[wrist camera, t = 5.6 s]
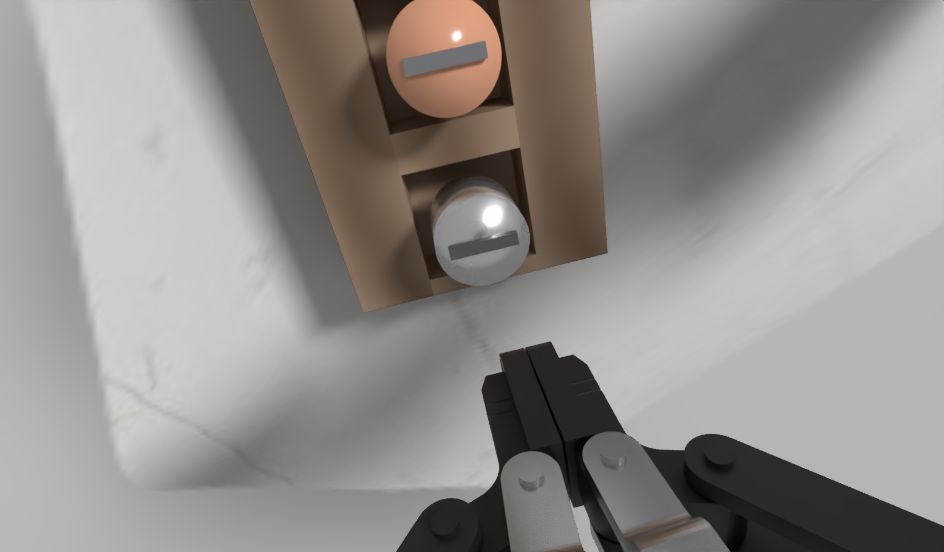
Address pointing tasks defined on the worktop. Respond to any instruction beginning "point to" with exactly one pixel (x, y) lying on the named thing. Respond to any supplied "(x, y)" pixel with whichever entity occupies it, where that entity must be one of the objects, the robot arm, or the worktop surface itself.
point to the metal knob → (478, 231)
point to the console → (441, 136)
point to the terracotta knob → (443, 56)
